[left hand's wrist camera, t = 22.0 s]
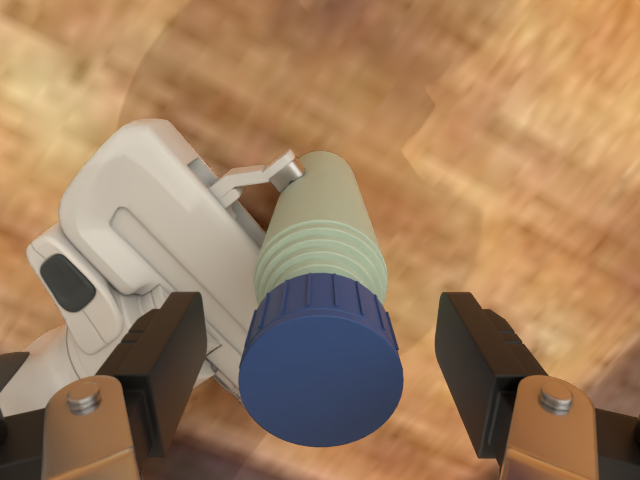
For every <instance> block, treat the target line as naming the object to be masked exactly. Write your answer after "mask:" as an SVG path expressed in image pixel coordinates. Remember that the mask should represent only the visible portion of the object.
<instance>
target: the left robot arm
mask: <svg viewBox="0 0 640 480" xmlns="http://www.w3.org/2000/svg"><path fill="white" fill-rule="evenodd" d="M206 352H207V333H206V324H205V316H204V308H203V300H202V296H201V293H200V292H172V293H171V294H170V295H169V296H168V298H167V299H166V301H165V302H164V304H163V305H162V306H161V308H160V309H151V310H150V311H148V312H147V313H145V314H144V315H142V316H141V317H139V318H138V319H137V320H136V321H135V323H134V324H133V325H132V327H131V328H130V329H129V330H128V333H126V334H125V336H124V337H123V338H122V340H121V343H119V344H118V345H117V346H116V348H115V349H114V350H113V351H112V353H111V354H110V355H109V357H108V358H107V359H106V361H105V362H104V363H103V365H102V366H101V367H100V368H99V370H98V371H97V372H96V374H95V375H94V376H89V377H85V378H82V379H79V380H77V381H74V382H72V383H70V384H68V385H66V386H65V387H63V388H62V389H60V390H59V391H58V392H57V393H55V394H54V395H53V396H52V397H51V399H50V400H49V401H48V403H47V405H46V407H45V408H42V409H38V410H33V411H29V412H24V413H20V414H15V415H11V416H6V417H4V416H3V413H2V411H1V408H0V480H143V478H142V473H141V470H142V467H143V465H144V463H145V461H146V459H147V457H165V455H166V453H167V450H168V448H169V445H170V443H171V441H172V438H173V436H174V433H175V431H176V428H177V426H178V424H179V421H180V419H181V416H182V414H183V411H184V409H185V407H186V404H187V402H188V399H189V397H190V394H191V392H192V390H193V387H194V385H195V382H196V380H197V377H198V375H199V373H200V370H201V368H202V365H203V363H204V360H205V357H206ZM435 352H436V358H437V361H438V363H439V366H440V368H441V370H442V373H443V375H444V378H445V380H446V382H447V385H448V387H449V390H450V392H451V394H452V397H453V399H454V402H455V404H456V406H457V409H458V411H459V414H460V416H461V418H462V421H463V423H464V426H465V428H466V430H467V433H468V435H469V437H470V440H471V442H472V445H473V447H474V449H475V452H476V454H477V457H478V458H496V460H497V462H498V464H499V466H500V469H499V473H498V478H497V480H640V414H639V416H638V418H636V417H632V416H627V415H623V414H619V413H614V412H610V411H605V410H601V409H597V408H595V407H594V405H593V403H592V401H591V400H590V399H589V397H588V396H587V395H586V394H585V393H583V392H582V391H581V390H580V389H578V388H577V387H575V386H574V385H572V384H570V383H568V382H566V381H563V380H561V379H558V378H555V377H551V376H548V374H547V373H546V372H545V371H544V369H543V368H542V367H541V365H540V364H539V363H538V361H537V360H536V359H535V358H534V356H533V355H532V354H531V352H530V351H529V350H528V349H527V347H526V346H525V345H524V344H522V341H521V339H520V338H519V337H518V336H517V334H515V333H514V330H513V329H512V328H511V326H510V325H509V324H508V323H507V321H506V320H505V319H504V318H502V317H501V316H499V315H498V314H496V313H495V312H493V311H492V310H490V309H482V308H481V306H480V305H479V304H478V302H477V301H476V299H475V298H474V296H473V295H472V294H471V293H470V292H443V293H442V294H441V296H440V301H439V309H438V317H437V325H436V334H435Z"/></svg>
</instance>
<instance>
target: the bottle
mask: <svg viewBox="0 0 640 480" xmlns="http://www.w3.org/2000/svg"><path fill="white" fill-rule="evenodd" d="M298 159H299V160H300V162H301V163H302V164H303V166H304V167H305V168H306V170H305V173H304V174H303V175H302V176H301V177H300V178H299V179H297V180H295V181H290V184H289V186H288V187H287V188H285V189H284V190H283V191H281V193H280V196H279V199H278V201H277V204H276V207H275V210H274V213H273V216H272V219H271V221H270V224H269V227H268V230H267V233H266V236H265V238H264V241H263V244H262V247H261V250H260V253H259V256H258V258H257V261H256V264H255V268H254V275H253V284H254V291H255V297H256V300H257V304H258V306H259V305H260V303H261V302H262V300H263V299H264V298H265V296H266V293H267V292H270V291H272V290H273V289H274V288H275V287H277V286H278V285H280V284H281V283H283V282H285V280H287V279H288V280H289V279H292V278H294V277H297V276H301V275H304V274H308V273H331V274H333V273H335V274H337V275H341V276H344V277H347V278H350V279H352V280H354V281H359V283H360V284H362V285H363V286H365V287H366V288H368V289H369V290H370V291H371V292H372V293H373V294H374V295H375V294H376V295H377V297H378V300H379V301H380V302H381V304H382V306H383V304H384V301H385V297H386V292H387V286H388V274H387V267H386V264H385V260H384V258H383V255H382V252H381V249H380V246H379V244H378V241H377V238H376V235H375V232H374V230H373V227H372V224H371V221H370V218H369V216H368V213H367V210H366V207H365V204H364V202H363V199H362V196H361V193H360V190H359V187H358V185H357V182H356V179H355V176H354V174H353V171H352V169H351V168H350V166H349V165H348V163H347V162H346V161H345V160H344V159H343V158H341V157H340V156H338V155H336V154H334V153H331V152H327V151H314V152H310V153H307V154H305V155H303V156H301V157H300V158H298Z"/></svg>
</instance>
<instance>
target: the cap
mask: <svg viewBox="0 0 640 480" xmlns="http://www.w3.org/2000/svg"><path fill="white" fill-rule="evenodd" d="M397 350H399V348H398V345H397V341H396V338H395V334H394V331H393V328H392V324H391V321H390V317H389V314H388V312H385V309H384V307H383V306H382V304H381V302H380V301H379V300H378V297H377V295H376V294H375V295H374V294H373V293H372V292H371V291H370V290H369V289H368V288H366V287H365V286H363V285H362V284H360V283H359V281H354V280H352V279H350V278H347V277H344V276H341V275H337V274H335V273H333V274H331V273H308V274H304V275H301V276H297V277H294V278H292V279H289V280H288V279H287V280H285V282H283V283H281V284H280V285H278V286H277V287H275V288H274V289H273V290H272V291H270V292H267V293H266V296H265V298H264V299H263V300H262V302H261V303H260V305H259V307H258V308H257V310H254V313H253V316H252V320H251V323H250V327H249V330H248V334H247V337H246V341H245V344H244V351H243V354H242V358H241V361H240V365H239V369H240V370H239V377H238V385H239V392H240V396H241V399H242V402H243V404H244V406H245V408H246V410H247V411H248V413H249V414H250V416H251V417H252V418H253V419H254V420H255V421H256V422H257V423H258V424H259V425H260V426H261V427H262V428H263V429H265V430H266V431H268V432H269V433H270V434H272V435H274V436H276V437H278V438H280V439H282V440H285V441H287V442H290V443H294V444H297V445H303V446H309V447H332V446H339V445H344V444H348V443H351V442H354V441H357V440H359V439H361V438H364V437H366V436H367V435H369V434H371V433H373V432H374V431H375V430H377V429H378V428H379V427H381V426H382V425H383V424H384V423H385V422H386V421H387V420H388V419H389V418H390V416H391V415H392V414H393V412H394V411H395V409H396V407H397V405H398V403H399V401H400V398H401V394H402V390H403V369H402V365H401V362H400V358H399V355H398V351H397Z"/></svg>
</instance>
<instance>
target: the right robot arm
mask: <svg viewBox="0 0 640 480" xmlns="http://www.w3.org/2000/svg"><path fill="white" fill-rule="evenodd" d="M305 170H306V168H305V167H304V166H303V164H302V163H301V162H300V160H299V159H298V158H297V156H296V155H295V154H294V152H293V151H292V150H291V149H290V148H289V149H288V150H286V151H285V152H283V153H282V154H281V155H280V156H278V157H277V158H276V159H275V160H273V161H272V162H271V163H269V164H268V165H267V166H266V165H265V164H263V165H255V166H246V167H238V168H232V169H231V170H229V171H228V172H227V173H226V174H224V175H223V176H222V177H221V178H218V177H217V176H216V174H215V173H214V172H213V171H212V170H211V169H210V168H209V166H208V165H207V164H206V163H205V162H204V161H203V159H202V158H201V157H200V156H199V155H198V154H197V152H196V151H195V150H194V149H193V148H192V147H191V146H190V144H189V143H188V142H187V141H186V140H185V139H184V137H183V136H182V135H181V134H180V133H179V132H178V130H177V129H176V128H175V127H174V126H173V125H172V124H171V123H170V122H169V121H167V120H165V119H154V118H144V119H138V120H135V121H132V122H129V123H127V124H125V125H124V126H122V127H121V128H120V129H118V130H117V131H116V132H115V133H114V134H113V135H112V136H111V137H110V138H109V139H108V140H107V141H106V142H105V143H104V144H103V145H102V146H101V147H100V148H99V149H98V150H97V151H96V152H95V153H94V154H93V155H92V157H91V158H90V159H89V160H88V161H87V162H86V164H85V165H84V166H83V167H82V168H81V170H80V171H79V172H78V174H77V175H76V176H75V177H74V179H73V180H72V181H71V183H70V184H69V186H68V187H67V189H66V190H65V192H64V194H63V196H62V198H61V201H60V204H59V211H58V216H59V221H58V222H57V223H55V224H54V225H53V226H51V227H50V228H48V229H47V230H46V231H44V232H43V233H42V234H41V235H39V236H38V237H37V238H36V239H35V240H34V241H33V242H32V243H31V244H30V245H29V246H28V247H27V249H26V257H27V260H28V262H29V264H30V266H31V267H32V269H33V270H34V272H35V273H36V275H37V276H38V278H39V279H40V281H41V282H42V284H43V285H44V287H45V288H46V290H47V291H48V293H49V294H50V296H51V298H52V299H53V301H54V302H55V304H56V306H57V307H58V309H59V311H60V313H61V315H62V316H63V318H64V320H65V324H64V325H63V326H60V327H57V328H54V329H52V330H50V331H48V332H46V333H44V334H43V335H41V336H40V337H38V338H37V339H36V340H34V341H33V342H32V343H31V344H29V345H28V346H27V347H26V348H24V349H23V350H22V351H21V352H14V353H7V354H2V355H0V408H1V411H2V413H3V416H4V417H6V416H11V415H15V414H20V413H24V412H29V411H33V410H38V409H42V408H45V407H46V405H47V403H48V401H49V400H50V399H51V397H52V396H53V395H54V394H55V393H57V392H58V391H59V390H60V389H62V388H63V387H65V386H66V385H68V384H70V383H72V382H74V381H77V380H79V379H82V378H85V377H89V376H94V375H95V374H96V372H97V371H98V370H99V368H100V367H101V366H102V365H103V363H104V362H105V361H106V359H107V358H108V357H109V355H110V354H111V353H112V351H113V350H114V349H115V348H116V346H117V345H118V344H119V343H121V340H122V338H123V337H124V336H125V334H126V333H128V330H129V329H130V328H131V327H132V325H133V324H134V323H135V321H136V320H137V319H138V318H139V317H141V316H142V315H144V314H145V313H147V312H148V311H150V310H151V309H160V308H161V306H162V305H163V304H164V302H165V301H166V299H167V298H168V296H169V295H170V294H171V293H172V292H200V293H201V296H202V300H203V308H204V316H205V324H206V333H207V352H206V357H205V360H204V363H203V365H202V368H201V370H200V373H199V375H198V377H197V380H196V382H195V385H194V387H193V388H195V387H196V386H198V385H199V384H201V383H203V382H204V381H206V380H207V379H209V378H210V377H212V378H213V379H214V380H215V381H216V382H218V383H219V384H220V385H221V386H222V387H223V388H224V389H225V390H226V391H228V392H229V393H231V394H232V395H234V396H235V397H236V398H237V399H238V400H239V402H240V404H241V405H242V406H243V407H244V408H245V406H244V404H243V402H242V399H241V396H240V392H239V385H238V377H239V370H240V369H239V365H240V361H241V358H242V354H243V351H244V344H245V341H246V337H247V334H248V330H249V327H250V323H251V320H252V316H253V313H254V310H257V308H258V307H259V306H258V304H257V300H256V297H255V291H254V284H253V275H254V268H255V264H256V261H257V258H258V256H259V253H260V250H261V247H262V244H263V241H264V238H265V236H266V232H265V231H264V230H263V229H262V228H261V227H260V225H259V224H258V223H257V222H256V221H255V220H254V218H253V217H252V216H251V215H250V214H249V213H248V212H247V210H246V209H245V208H244V207H243V206H242V205H241V203H240V202H239V201H238V200H237V199H238V198H239V197H240V196H241V194H242V193H243V192H244V190H245V189H246V185H253V184H260V183H267V182H271V183H272V185H273V186H274V187H275V188H276V189H277V190H278V192H279V193H280V192H281V191H283V190H284V189H285V188H287V187H288V186H289V184H290V181H295V180H297V179H299V178H300V177H301V176H302V175H303V174H304V173H305ZM245 409H246V408H245Z"/></svg>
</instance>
